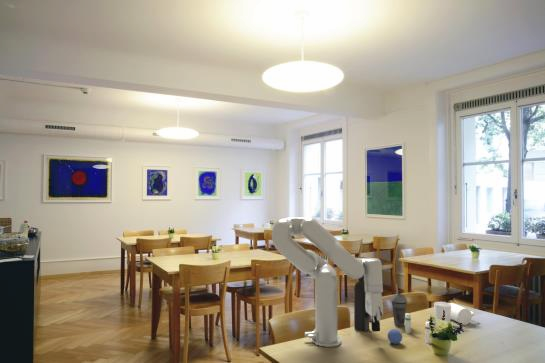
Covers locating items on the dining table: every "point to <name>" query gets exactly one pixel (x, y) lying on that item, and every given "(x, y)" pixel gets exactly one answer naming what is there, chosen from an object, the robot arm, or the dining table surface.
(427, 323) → the pin
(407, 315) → the pin
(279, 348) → the dining table surface
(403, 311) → the beverage cup
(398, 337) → the ball
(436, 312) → the white cup
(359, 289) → the wine bottle
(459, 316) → the mug
